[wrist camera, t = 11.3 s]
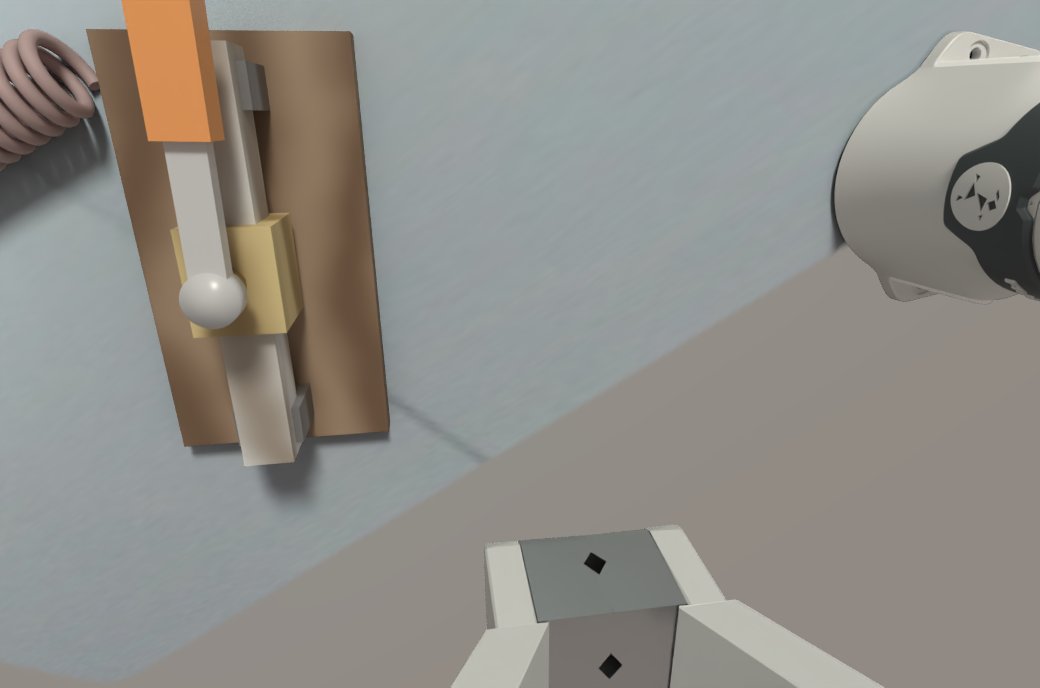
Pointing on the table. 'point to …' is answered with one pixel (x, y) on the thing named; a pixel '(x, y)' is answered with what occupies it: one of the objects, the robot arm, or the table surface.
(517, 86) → the table surface
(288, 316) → the valve stand
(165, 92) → the valve lever
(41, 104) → the coil
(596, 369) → the table surface
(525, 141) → the table surface
